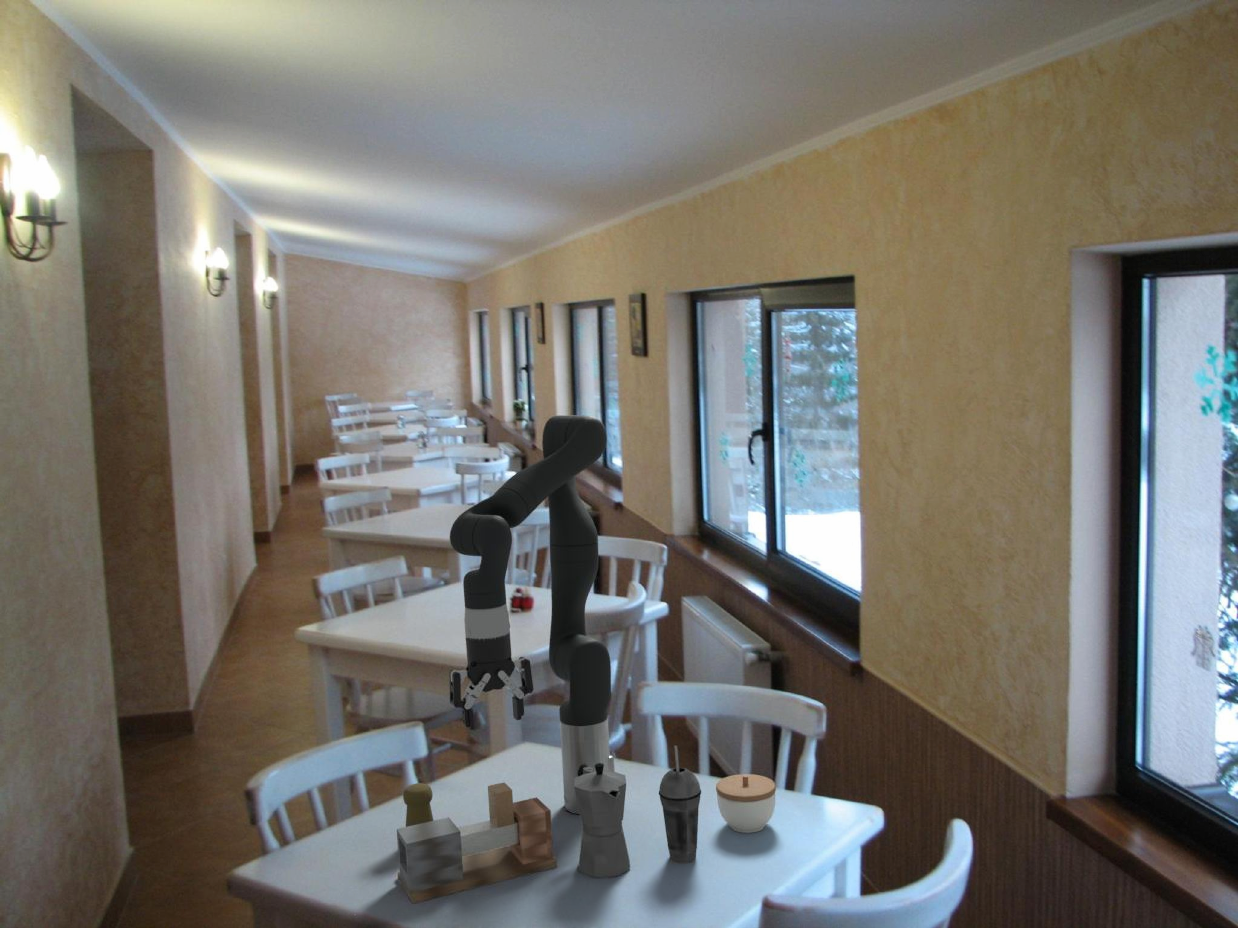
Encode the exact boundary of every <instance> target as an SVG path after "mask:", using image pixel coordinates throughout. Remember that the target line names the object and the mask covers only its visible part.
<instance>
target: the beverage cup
mask: <svg viewBox="0 0 1238 928" xmlns="http://www.w3.org/2000/svg"><path fill="white" fill-rule="evenodd" d="M673 749H674V756H675V767H673V768H672V769H670V770H668V771H667V772H666V773H665V774H664V775H663V776H662V778H661V781H660V785H659V789H658V795H659V799H660V803H661V804H660V805H661V807H662V812H663V820H664V826H665V827H664V828H665V834H666V836H665V837H666V843H667V850H668V853H669V858H670V859H669V860H671V861H672V862H674V863H677V864H688V863H691V862H694V860H696V859H697V850H698V831H699V830H698V829H699V807H700V802H701V794H702V789H701V786H700V782H699V779H698V778H697V776H696V775H695V774H694V772H692V771H691V770H689V769H688V768H685V767H680V764H679V763H680V762H679V751H678V749H679V748H678V745H674V747H673Z"/></svg>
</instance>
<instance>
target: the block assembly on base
mask: <svg viewBox="0 0 1238 928" xmlns="http://www.w3.org/2000/svg"><path fill="white" fill-rule="evenodd" d="M513 812H514V817H515V818H516V819H517V820H518V821H519V836H520V843H518V844H513V845H509V846H505V847H501V848H497V849H493V850H489V851H485V852H481V853H476V854H472V855H468V856H464V857H462V849H461V834H460V830H459V829H458V827H457V825H456V824H455V823H454V822H453V820H451V818H450V817H448V816H447V817H444V818H440V819H435V820H434V821H430V822H426V823H421V824H417V825H413V826H408V827H406V826H404V827H401V828H400V827H399V828H396V841H397V852H398V863H399V864H398V866H399V867H398V868H399V872H397V879H398V881H399V883H400V884H401V886H402V888H403V889H404V891H405V892H406V894H407V896H408V897H409V899H410V900H411V902H412V904H416V903H420V902H424V901H425V902H426V901H428V900H431V899H435V898H440V897H444V896H447V895H451V893H452V894H456V893H460V892H463V891H462V890H464V891H467V889H468V890H470V889H469V888H472V889H475V888H478V887H479V888H480V887H482V886H486V885H491V884H495V883H498V882H502V881H507V880H510V879H514V878H518V877H521V876H525V875H529V874H533V873H534V874H535V873H537V872H541V871H546V870H549V869H553V868H557V867H558V860H557V859H556V858H555V857H554V845H553V830H552V811H551V809H550V808H549V807H548V806H547V805H546V804H545V803H543V802H542V801H541V800H540V798H538V797H537V796H536V797H533V798H528V799H523V800H520V801H515V802H514V801H513ZM459 891H460V892H459Z"/></svg>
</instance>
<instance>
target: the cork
mask: <svg viewBox="0 0 1238 928" xmlns="http://www.w3.org/2000/svg"><path fill="white" fill-rule="evenodd" d="M433 796H434V795H433V790H432V788H431V786H430V785H428V784H427V783H421V782H420V783H419V782H418V783H413V784H410V785H408V786H407V787H406V788H405V789H404V791H403V794H402V798H403V799H402V800H403V802H404V804H405V806H406V817H405V827H408V826H413V825H417V824H421V823H426V822H430V821H435V820H434V816H433V812H432V807H431V802H432V800H433Z"/></svg>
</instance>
